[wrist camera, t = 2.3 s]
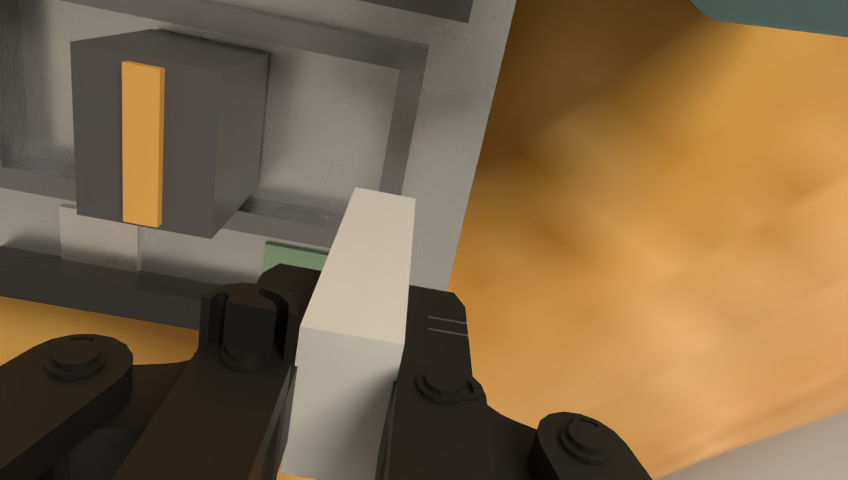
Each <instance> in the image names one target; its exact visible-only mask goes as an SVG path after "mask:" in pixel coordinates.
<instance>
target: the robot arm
mask: <svg viewBox="0 0 848 480" xmlns="http://www.w3.org/2000/svg"><path fill="white" fill-rule="evenodd" d="M415 202H416V199H415V198H410V197H405V196H399V195H394V194H389V193H384V192H378V191H373V190H368V189H363V188H357V187H355V189H354V192H353V194H352V197H351V199H350V202H349V204H348V207H347V209H346V212H345V215H344V217H343V220H342V222H341V225H340V227H339V230H338V232H337V235H336V237H335V240H334V242H333V245H332V247H331V250H330V252H329V255H328V257H327V260H326V262H325V265H324V267H323V270H322V271H320V270H315V269H309V268H304V267H298V266H293V265H287V264H282V263H279V264H277V265H276V266H274V267H272V268H270V269H268V270H266V271H265V272H263V273H262V274H261V276H260V278H259V279H258V281H257V283H256V284H255V283H236V284H226V285H223V286H220V287H217V288H215V289H212V290H210V291H209V292H208V293H206V294H205V295H204V296H203V297H201V312H200V329H199V346H198V349H197V351H196V352H195V354H194V356H193V357H192V359H191V360H187V361H183V362H178V363H168V364H148V365H133V354H132V353H131V351H130V350H129V348H128V347H127V345H126V344H124V343H122V342H120V341H118V340H116V339H114V338H112V337H107V336H101V335H96V334H76V335H69V336H64V337H59V338H55V339H51V340H49V341H46V342H44V343H42V344H39V345H37V346H35V347H32V348H31V349H29V350H27V351H26V352H24V353H22V354H20V355H19V356H17V357H15V358H14V359H12V360H10V361H8V362H7V363H5V364H3V365H2V366H0V480H276V477H277V473H278V470H279V466H280V463H281V460H282V464H281V472H280V473H284V474H290V475H296V476H303V477H309V478H315V479H322V480H652V479H651V477H650V476H649V474H648V473H647V472H646V470H645V469H644V468H643V466H642V465H641V463H640V462H639V461H638V459H637V458H636V457H635V455H634V454H633V452H632V451H631V450H630V448H629V447H628V446H627V444H626V443H625V442H624V441H623V440H622V439H621V438H620V437H619V436H618V435H617V434H616V433H615V432H614V431H613V430H611V429H610V428H608V427H607V426H605V425H604V424H602V423H601V422H599V421H597V420H595V419H592V418H589V417H587V416H584V415H582V414H576V413H569V412H559V413H552V414H549V415H547V416H546V417H545V418H543V419H542V420H540V423H539V426H538V428H537V430H536V429H534V428H531V427H529V426H526V425H524V424H521V423H519V422H516V421H514V420H512V419H510V418H507V417H505V416H503V415H501V414H500V413H498V412H497V411H495V410H494V409H492V408H491V407H489V406H488V405H487V400H486V395H485V393H484V390H483V388H482V386H481V384H480V383H479V382H478V381H477V380H476V379H475V378H474V377H472V367H471V358H470V349H469V340H468V336H467V335H468V330H467V324H466V322H467V321H466V312H465V306H464V305H463V304H462V303H461V301H460V300H459V299H458V298H457V296H456V295H455V294H454V293H452V292H447V291H441V290H436V289H430V288H425V287H419V286H414V285H409V279H410V266H411V253H412V241H413V228H414V215H415Z"/></svg>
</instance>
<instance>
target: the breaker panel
mask: <svg viewBox="0 0 848 480" xmlns="http://www.w3.org/2000/svg"><path fill="white" fill-rule="evenodd" d="M515 4H516V0H0V296H4V297H10V298H16V299H22V300H28V301H33V302H39V303H45V304H51V305H56V306H62V307H68V308H74V309H80V310H85V311H91V312H97V313H103V314H109V315H114V316H120V317H126V318H132V319H137V320H143V321H149V322H155V323H161V324H166V325H172V326H178V327H184V328H189V329H195V330H199V329H200V312H201V297H203V296H204V295H205V294H206V293H208V292H209V291H210V290H212V289H215V288H217V287H220V286H223V285H226V284H236V283H255V284H256V283H257V281H258V279H259V278H260V276H261V274H262V273H263V272H265V271H266V270H268V269H270V268H272V267H274V266H276V265H277V264H279V263H282V264H287V265H293V266H298V267H304V268H309V269H315V270H320V271H322V270H323V267H324V265H325V262H326V260H327V257H328V255H329V252H330V250H331V247H332V245H333V242H334V240H335V237H336V235H337V232H338V230H339V227H340V225H341V222H342V220H343V217H344V215H345V212H346V209H347V207H348V204H349V202H350V199H351V197H352V194H353V192H354V189H355V187H357V188H363V189H368V190H373V191H378V192H384V193H389V194H394V195H399V196H405V197H410V198H415V199H416V202H415V215H414V228H413V241H412V253H411V266H410V279H409V285H414V286H419V287H425V288H430V289H436V290H441V291H447V288H448V284H449V280H450V276H451V271H452V267H453V263H454V259H455V255H456V251H457V246H458V242H459V238H460V234H461V230H462V225H463V221H464V217H465V213H466V209H467V205H468V200H469V196H470V192H471V188H472V184H473V180H474V175H475V171H476V167H477V163H478V159H479V154H480V150H481V146H482V142H483V138H484V134H485V129H486V125H487V121H488V117H489V113H490V109H491V104H492V100H493V96H494V92H495V88H496V84H497V79H498V75H499V71H500V67H501V63H502V58H503V54H504V50H505V46H506V42H507V38H508V33H509V29H510V25H511V21H512V17H513V13H514V8H515ZM148 29H156V30H161V31H166V32H171V33H176V34H180V35H185V36H190V37H195V38H200V39H205V40H210V41H215V42H220V43H225V44H230V45H235V46H240V47H244V48H249V49H254V50H259V51H264V52H269V58H268V70H267V81H266V93H265V104H264V115H263V127H262V138H261V149H260V161H259V172H258V184H257V188H256V189H255V190H254V192H253V193H252V194H251V195H250V196H249V197H248V198H247V199H246V201H245V202H244V203H243V204H242V205H241V206H240V207H239V209H238V210H237V211H236V212H235V213H234V214H233V215H232V217H231V218H230V219H229V220H228V221H227V222H226V223H225V225H224V226H223V227H222V228H221V229H220V230H219V231H218V232H217V234H216V235H215V236H214V237H213V238H212V239H208V238H202V237H197V236H191V235H186V234H180V233H175V232H169V231H164V230H158V229H153V228H147V227H142V226H136V225H131V224H125V223H120V222H115V221H109V220H104V219H98V218H93V217H87V216H82V215H77V205H76V180H75V155H74V130H73V106H72V81H71V56H70V41H77V40H83V39H90V38H96V37H103V36H109V35H116V34H122V33H129V32H135V31H142V30H148Z"/></svg>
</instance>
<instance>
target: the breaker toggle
mask: <svg viewBox="0 0 848 480" xmlns="http://www.w3.org/2000/svg"><path fill="white" fill-rule="evenodd" d="M70 56H71V81H72V106H73V130H74V155H75V180H76V205H77V215H82V216H87V217H93V218H98V219H104V220H109V221H115V222H120V223H125V224H131V225H136V226H142V227H147V228H153V229H158V230H164V231H169V232H175V233H180V234H186V235H191V236H197V237H202V238H208V239H212V238H213V237H214V236H215V235H216V234H217V232H218V231H219V230H220V229H221V228H222V227H223V226H224V225H225V223H226V222H227V221H228V220H229V219H230V218H231V217H232V215H233V214H234V213H235V212H236V211H237V210H238V209H239V207H240V206H241V205H242V204H243V203H244V202H245V201H246V199H247V198H248V197H249V196H250V195H251V194H252V193H253V192H254V190H255V189H256V188H257V184H258V172H259V161H260V149H261V138H262V127H263V115H264V104H265V93H266V81H267V70H268V58H269V52H264V51H259V50H254V49H249V48H244V47H240V46H235V45H230V44H225V43H220V42H215V41H210V40H205V39H200V38H195V37H190V36H185V35H180V34H176V33H171V32H166V31H161V30H156V29H148V30H142V31H135V32H129V33H122V34H116V35H109V36H103V37H96V38H90V39H83V40H77V41H70Z"/></svg>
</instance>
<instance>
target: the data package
mask: <svg viewBox="0 0 848 480" xmlns="http://www.w3.org/2000/svg"><path fill="white" fill-rule="evenodd" d="M690 1H691V2H692V4H693V5H694V6H695V7H696V8H697V9H698V10H699V11H700V12H702V13H703V14H704V15H706V16H707V17H709V18H711V19H713V20H716V21H722V22H730V23H738V24H746V25H754V26H763V27H771V28H779V29H787V30H795V31H803V32H811V33H819V34H827V35H835V36H843V37H848V0H690Z"/></svg>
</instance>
